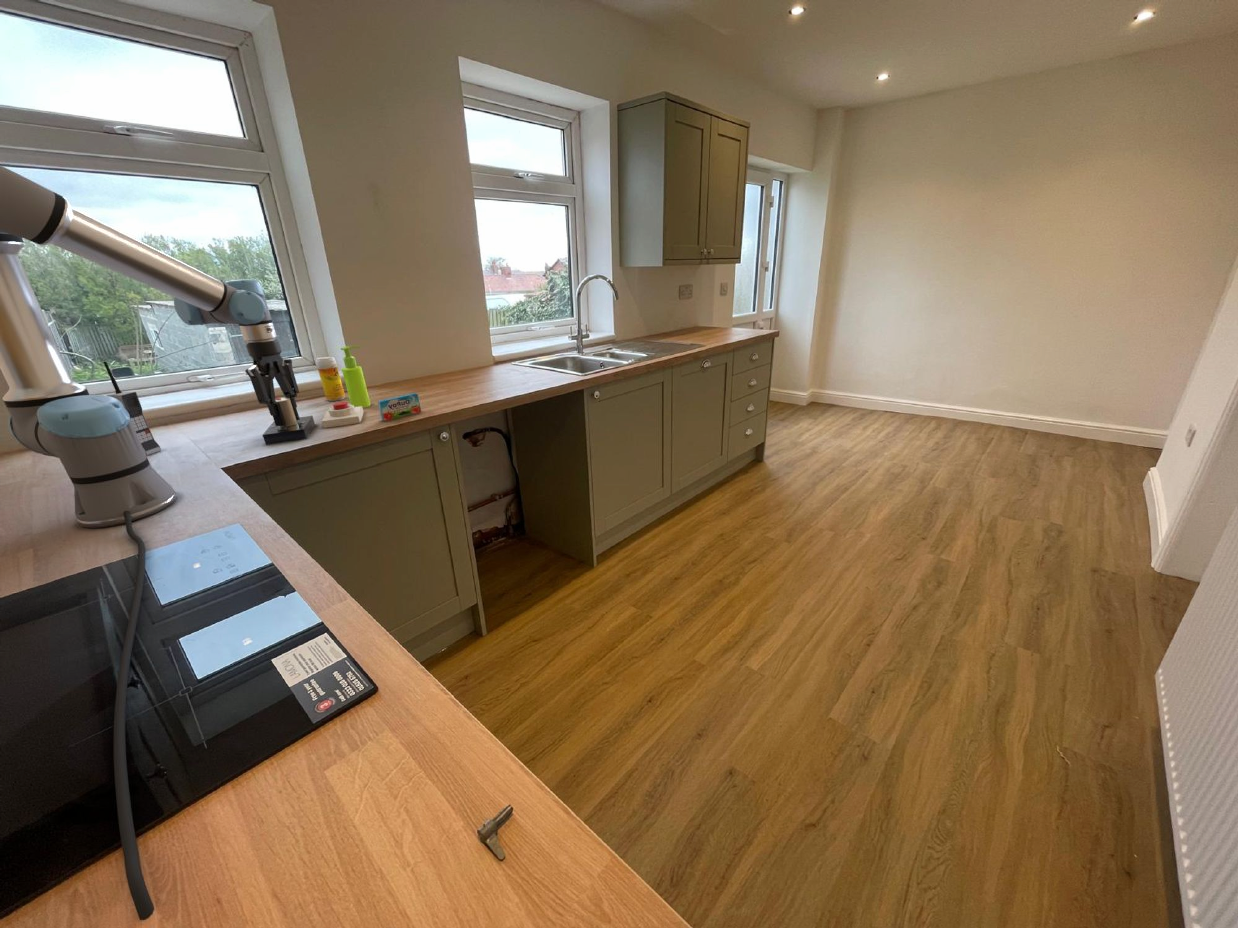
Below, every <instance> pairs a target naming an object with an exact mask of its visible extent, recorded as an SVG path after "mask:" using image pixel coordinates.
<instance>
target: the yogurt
mask: <svg viewBox="0 0 1238 928" xmlns="http://www.w3.org/2000/svg"><path fill="white" fill-rule="evenodd" d="M377 405H378V409H379V414H380V418H381V421H383V422H388V421H392V420H395V419H399V418H403V417H408V416H410V415H416V414H420V413H422V408H421V402H420V399H419V394H418V393H416V392H412V393H408V394H404V395H399V396H396V397H395V396H394V397H391V398H387V399H382V400H378V401H377Z"/></svg>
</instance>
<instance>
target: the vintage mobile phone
mask: <svg viewBox="0 0 1238 928" xmlns="http://www.w3.org/2000/svg"><path fill="white" fill-rule="evenodd" d="M102 363H103V365H104V367H105V369H106V372H107V374H108V376H109V378H110V381H111V385H112V387H113V388H114V390H115V392H113V393H109V394H106V396H110V397H113V398H116V399H117V400H119V401H120V402H121V403H122V404H123V406H124V408H125V409H126V410H127V412H128V413H129V415H130V420H131V422H132V424H133V427H134V429H135V431H136V433H137V436H138V438H139V440H140V442H141V445H142V447H143V449H144V451H145V454H146V456H150V455H153V454H156V453H158V452H161V451H162V448H161V446H160V445H159V443H158V442H157V441H156V440H155V437H154V436H153V433H152V431H151V429H150V426H149V425H148V422H147V419H146V417H145V415H144V413H143V407H142V404H141V402H140V399H139V395H138V394H137V392H136V391H129V390H128V391H122V390H121V389H120V387H119V384H118V382H117V379H115V377H114V375H113V372H112V371H111V369H110V366H109V364H108V362H107V361H103V362H102Z"/></svg>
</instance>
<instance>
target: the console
mask: <svg viewBox="0 0 1238 928" xmlns="http://www.w3.org/2000/svg"><path fill="white" fill-rule="evenodd" d="M299 418H300V420H297V424H295V425H293V426H288V427H280V426H276V425H275V422H274V421H273V422H272V423H271V424H270V425H269V426H268V427H267V429H266V430H265V431H264V432H263V434H262V438H263V441H264V444H265V446H266V445H267V446H268V445H269V446H270V445H275V444H283V443H288V442H289V443H291V442H295V441H297V442H298V441H303V440H307V439H308V438H309V436H310V434H311V433H312V431H313V430H314V428H315V426H316V422H315V419H314V416H313V415H308V416H307V415H305V416H299Z"/></svg>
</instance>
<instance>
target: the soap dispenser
mask: <svg viewBox="0 0 1238 928" xmlns="http://www.w3.org/2000/svg"><path fill="white" fill-rule="evenodd" d="M359 348H360V346H359V345H348V346H347V345H346V346H343V347H341V348H340V350H341V351H344V357H342V359H343V363H344V367H343V368H342V369H341V373H342V376H343V380H344V384H345V388H346V391H347V394H348V395H347V396H348V398H349V402H350V405H354V407H359V406H362V408H363V409H365V408H368V407H370V406H371V405H372V404H371V400H370V397H369V392H368V388H367V384H366V379H365V376H364V372H363V369H362V366H360V365H357V361H356V357H355V356H353V355H352V353H351V349H352V350H353V349H359Z"/></svg>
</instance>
